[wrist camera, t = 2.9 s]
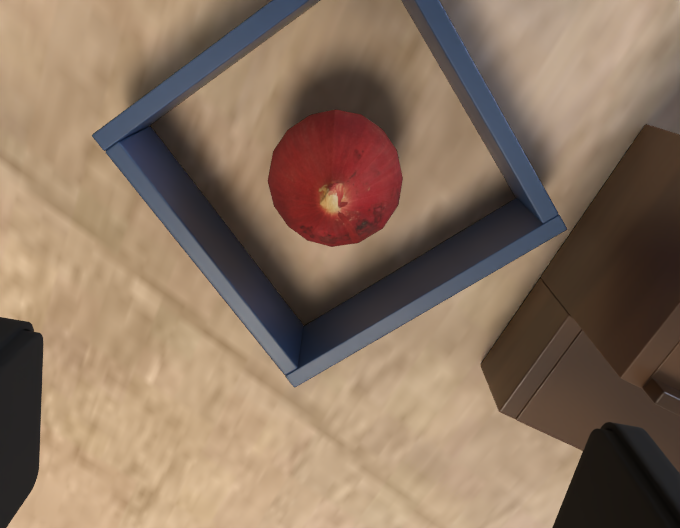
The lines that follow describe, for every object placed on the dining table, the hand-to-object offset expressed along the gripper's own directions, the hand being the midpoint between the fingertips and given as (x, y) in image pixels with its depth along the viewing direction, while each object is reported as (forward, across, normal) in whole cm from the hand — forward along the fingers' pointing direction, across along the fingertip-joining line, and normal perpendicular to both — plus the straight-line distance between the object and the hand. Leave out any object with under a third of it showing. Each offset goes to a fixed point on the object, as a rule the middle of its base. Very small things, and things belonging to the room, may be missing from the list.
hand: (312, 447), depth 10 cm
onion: (+22, 0, -1) cm, 22 cm away
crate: (+21, 0, -1) cm, 21 cm away
